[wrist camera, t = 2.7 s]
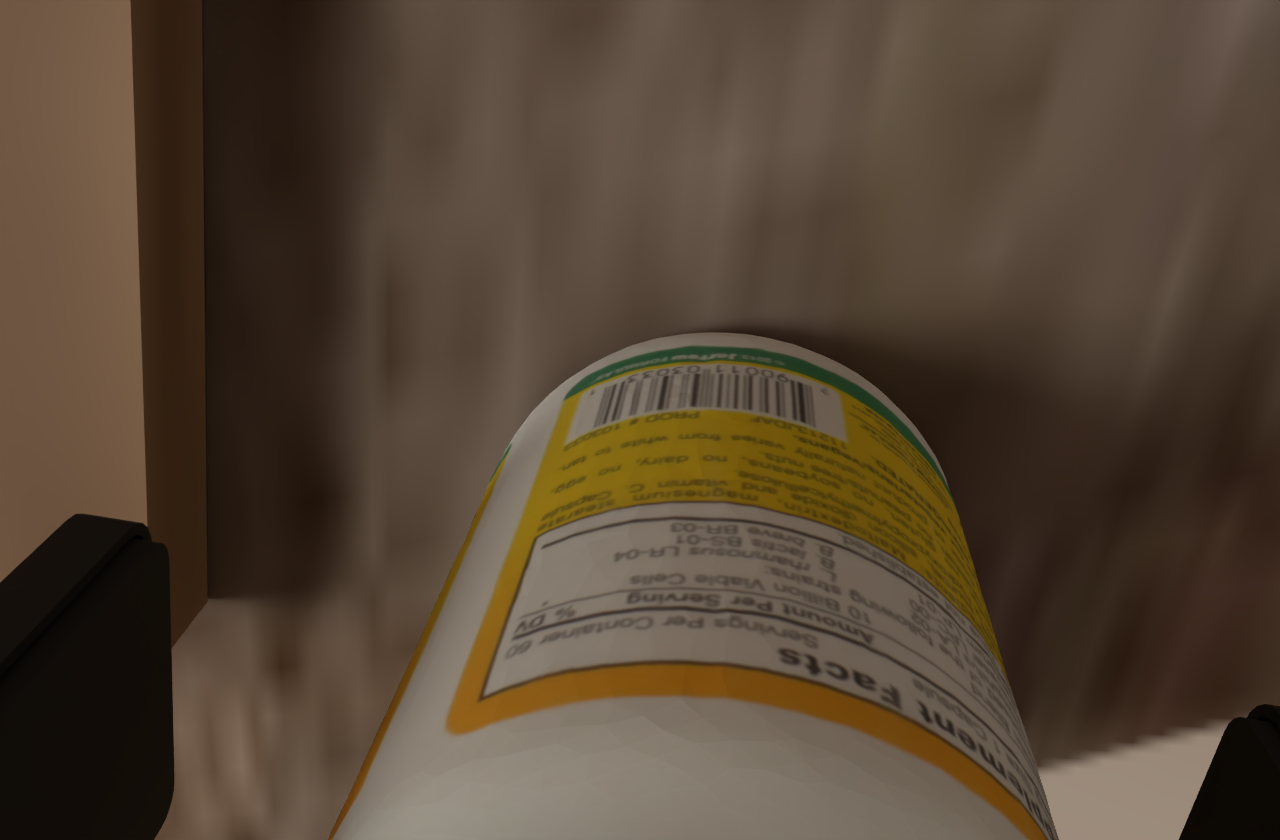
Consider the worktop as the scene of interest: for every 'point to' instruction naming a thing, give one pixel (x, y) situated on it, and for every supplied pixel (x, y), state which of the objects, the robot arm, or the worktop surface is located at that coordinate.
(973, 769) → the supplement bottle
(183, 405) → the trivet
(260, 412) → the worktop surface
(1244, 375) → the worktop surface
